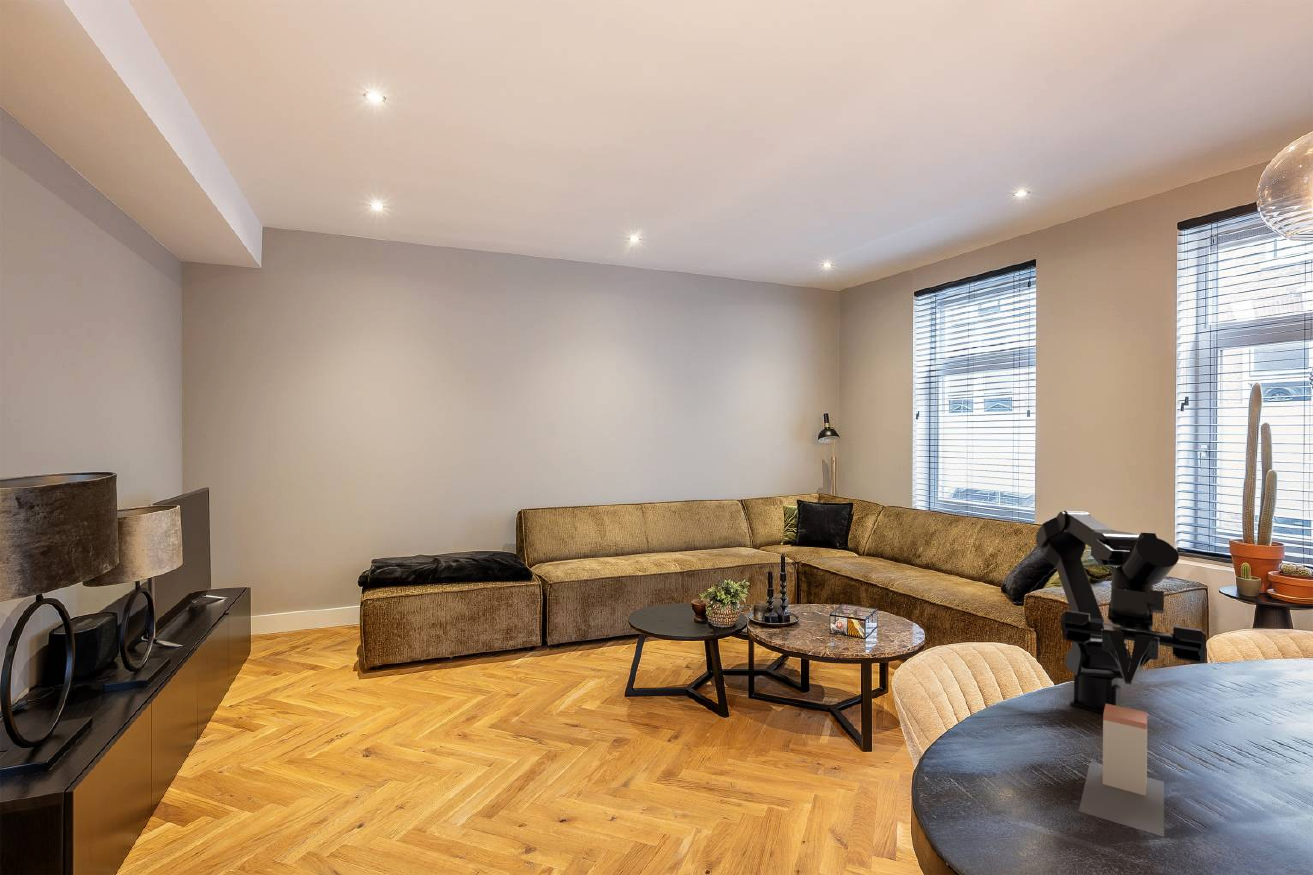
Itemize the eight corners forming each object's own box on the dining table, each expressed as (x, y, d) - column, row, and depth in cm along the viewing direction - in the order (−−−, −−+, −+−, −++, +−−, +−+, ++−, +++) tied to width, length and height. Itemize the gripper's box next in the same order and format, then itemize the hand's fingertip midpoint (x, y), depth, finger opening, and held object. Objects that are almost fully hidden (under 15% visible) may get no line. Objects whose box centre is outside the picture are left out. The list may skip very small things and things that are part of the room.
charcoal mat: (1089, 765, 101) (1089, 762, 101) (1164, 785, 95) (1164, 781, 95) (1078, 814, 87) (1078, 810, 87) (1164, 840, 82) (1164, 836, 82)
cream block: (1104, 770, 98) (1105, 703, 98) (1146, 781, 95) (1147, 712, 95) (1102, 783, 94) (1103, 714, 94) (1145, 795, 91) (1146, 723, 91)
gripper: (1062, 561, 111) (1053, 642, 102) (1206, 577, 100) (1209, 669, 91) (1067, 599, 117) (1059, 678, 109) (1203, 618, 106) (1206, 708, 97)
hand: (1128, 682), depth 101 cm, fingers closed
